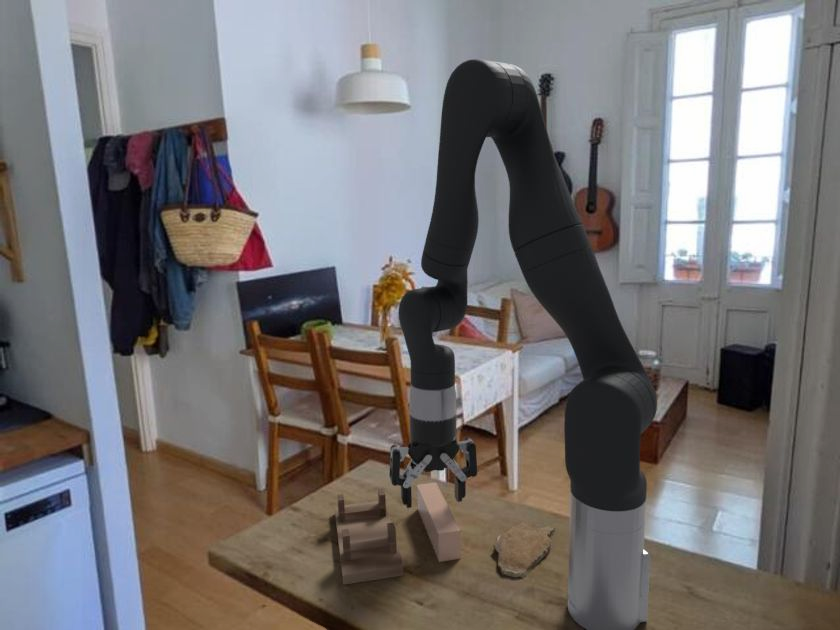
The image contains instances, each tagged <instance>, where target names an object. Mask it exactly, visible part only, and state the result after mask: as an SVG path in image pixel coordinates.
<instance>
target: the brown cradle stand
mask: <svg viewBox="0 0 840 630" xmlns="http://www.w3.org/2000/svg"><path fill="white" fill-rule="evenodd" d="M377 495H378V496H377V499H378V500H372V501H367V502H360V503H351V504H345V497H344V494H343V493H341V494H337V497H336V498H337V505H336V506H335V505H334V517H335V524H336V535H337V542H338V552H339V553H338V554H339V559H340V561H339V562H340V568H341V576H342V577H341V578H342V585H344V586H345V585H350V584H357V583H363V582H369V581H377V580H383V579H389V578H396V577H402V576H405V566H404V563H403V559H402V556H401V555H402V554H401V552H400V548H399V546H398V542H397V531H396V526H395V523H394V522H392V521H391V518H390V515H389V511H388V508H387V502H386V493H385V489H383V488H382V489H377Z"/></svg>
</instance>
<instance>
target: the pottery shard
mask: <svg viewBox="0 0 840 630" xmlns="http://www.w3.org/2000/svg"><path fill="white" fill-rule="evenodd" d="M555 530H556V527H555V526H554V525H553V526H552V525H546V524H538V523H535V522H534V523H533V522H530V521H527V520H520V521H519V523H518V524H515V525H514V526H513V527H510V528H509V529H507V530H506V532H502V533H501V534H500V535H498V536H497V537H496V538H495V540H496V541H495V543H494V544H493V548H494V550H495V552H496V554H497V567H498V568H499V571H500V574H501V575H504V576H507V577H513V578H521V579H524V578H525V577H527V575H528V574H529V573H530V572H531V571H532V570H533V569H534V568H535V566H537V564H538V563H539V562H540V561H541V560H542V559H544V557H546V556H547V555H548V553H549V552H550V550H551V547H552V537H553V536H554V535H555V533H556V531H555Z"/></svg>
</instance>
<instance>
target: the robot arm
mask: <svg viewBox="0 0 840 630" xmlns="http://www.w3.org/2000/svg"><path fill="white" fill-rule="evenodd" d="M441 107H442V108H441V117H440V132H439V144H438V154H437V155H438V156H437V169H436V179H435V180H436V182H435V190H434V191H435V192H434V200H433V207H432V212H431V217H430V222H429V226H428V230H427V234H426V237H425V242H424V246H423V250H422V255H421V260H420V266H421V269H422V271H423V273H424V274H425V275H426V276H428V277H429V278H432V279H434V280H437V282H436V285H435V286H427V287H422V288H420V287H419V288H414V289H410V290H408V291H406V292H405V293H404V295H402V298H401V300H400V301H399V305H398V320H399V325H400V328H401V331H402V334H403V337H404V341H405V344H406V349H407V352H408V356H409V360H410V390H409V399H408V400H409V403H408V410H409V443H408V445H407V446H399V447H398V445H396V444H392V445H391V446H390V453H389V456H390V457H389V474H388V475H389V479H390V482H391V485H392V486H400V497H401V498H400V499H401V501H402V504H403V506H406V508H407V509H410V508H412V507H413V506H412V499H413V498H412V485H413V482H415V480H416V479H418V478H419V476H420V475H421V474H422V473H423V472H425V473H431V472H433V471H440V472H441V471H445V470H446V468H448V469H449V470H450V471H451V472H452V473H453V474H454V475H455V476H454V498H455V500H456V502H457V503H460V502H463V499H465V497H466V491H467V490H466V488H467V487H466V486H467V485H466V482H467V479H468V478H471V477H472V478H474V477H477V475H478V463H477V461H478V460H477V445H476V443H475V442H474V441H473V440H472V438H471V437H470V436H469V437H466V438H464V440H461V441H458V440H457V391H456V360H455V359H456V357H455V352H454V350H453V348H451V347H449V346H447V345H444V344H438V343H435V342H434V338H433V333H438V332H443V331H448V330H452V329H455V328H456V327H458V326H459V325H460V323H462V321H463V320H464V318H465V316H466V313H467V310H468V283H469V282H468V269H469V265H470V261H471V258H472V255H473V251H474V247H475V243H476V240H477V236H478V232H479V208H478V201H477V192H476V185H475V184H476V172H477V171H476V170H477V165H478V160H479V157H480V153H481V150H482V148H483V146H484V143H485V141H486V138H491V139H492V141H493V143H494V145H495V146H496V149H497V150H498V153H499V155H500V158H501V160H502V163H503V165H504V168H505V170H506V174H507V178H508V182H509V183H508V185H509V204H508V235H509V242H510V244H511V247H512V250H513V252H514V256H515V258H516V261H517V264H518V266H519V269H520V271H521V274H522V276H523V278H524V280H525V282H526V284H527V286H528V288H529V290H530V292H531V294H533V296H534V297H535V299H536V300H537V301H538V302H539V304H540V305H541V306H542V307H543V309H544V310H545V311H546V312H547V313H548V314H549V316H551V318H552V319H553V320H554V321H555V322H556V323H557V325H558V326H559V327H560V329H561V330H562V332H563V333H564V334H565V336H566V338H567V340H568V341H569V343H570V345H571V348H572V350H573V353H574V355H575V358H576V360H577V363H578V366H579V369H580V372H581V375H582V379H583V380H581V381H580V382H578V383H577V384H576V385H575V386H574V387H572V389H571V390H570V392H569V394H568V396H567V399H566V403H565V409H564V425H563V427H564V462H565V470H566V472H567V475H568V477H569V480H570V481H569V482H570V487H569V488H570V491H569V492H570V493H569V495H570V496H569V534H568V535H569V536H568V537H569V538H568V541H569V542H568V572H567V573H568V576H567V577H568V580H567V581H568V582H567V610H568V613H569V615H570V617H571V618H572V619H573V620H574V622H576V623H577V624H578V625H579V626H580V627H581V628H583V629H586V630H636V629H637V628H638V626H639V625H640V623H644V622H647V621H648V607H649V606H648V605H649V587H650V585H649V584H650V569H651V568H650V567H651V556H650V554H649V552H648V551H647V550H646V549H645V547H644V546H645V530H646V529H645V527H646V506H647V505H646V504H647V491H648V489H647V487H648V482H647V477H646V475H645V474H644V472H643V471H641V468H640V467H641V466H640V465H641V460H640V459H641V438H642V434H643V433H644V432H645V431H646V430H647V429H648V428H649V426H650V425H651V424H652V423H653V421H654V420H655V417H656V414H657V410H658V397H657V393H656V390H655V388H654V385H653V383H652V380H651V379H650V376H649V375H648V373H647V371H646V369H645V367H644V364H642V362H641V360H640V358H639V357H638V354H637V353H636V350H635V349H634V346H633V345H632V343H631V341H630V339H629V337H628V335H627V333H626V331H625V329H624V327H623V325H622V323H621V320H620V318H619V316H618V313H617V310H616V307H615V305H614V302H613V299H612V297H611V294H610V290H609V287H608V286H607V283H606V281H605V278H604V276H603V274H602V271H601V268H600V266H599V263H598V260H597V258H596V254H595V251H594V248H593V247H592V244H591V241H590V239H589V236H588V234H587V231H586V228H585V226H584V224H583V221H582V219H581V217H580V214H579V212H578V211H577V208H576V207H575V204H574V202H573V199H572V196H571V193H570V191H569V188H568V185H567V183H566V180H565V178H564V175H563V172H562V170H561V168H560V166H559V163H558V161H557V158H556V156H555V152H554V149H553V147H552V144H551V140H550V137H549V133H548V130H547V126H546V123H545V118H544V115H543V112H542V108H541V104H540V101H539V97H538V95H537V91H536V87H535V86H534V84H533V82H532V79H531V78H530V77H529V75H528V74H527V72H525V71H524V70H523V69H522V68H520V67H518V66H517V65H515V64H511V63H506V62H501V61H493V60H487V59H480V58H478V59H477V58H474V59H468V60H465V61H463V62H462V63H460V64H459V65H457V67H456V68H455V69H454V70H452V72H451V74H450V76H449V78H448V80H447V83H446V85H445V91H444V94H443V99H442V106H441ZM460 450H461V452H462V453H463V455H464V456H465V466H464V467H462V468H461V466H460V465H459V464H458V463H457V462H456V460H455V457H456V456H457V454H458V453H459V451H460ZM406 456H409V457H410V461H409V462H408V464H407V466H406V468H405V469H404V471H403V473H402V474H400V472H401V463H402V462H403V461H404V460H405V457H406Z"/></svg>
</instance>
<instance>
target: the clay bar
mask: <svg viewBox="0 0 840 630" xmlns="http://www.w3.org/2000/svg"><path fill="white" fill-rule="evenodd" d="M416 493H417V494H416V496H417V499H416V500H417V511H418V513H420V514H419V515H420V519H421V521H422V523H423V525H425V526H424V528H425V531H426V530H427V531H426V532H427V535H428V539H429V540H431V541H430V543H431V546H432V545H433V546H432V548H433V550H435V551H434V553H435V555H437V556H436V558H437V560H438V562H439V563H442V562H447V561H448V562H449V561H453V560H460V559H462V542H461V541H462V534H461V531H462V530H461V528H460V527H459V524H458V522H457V521H456V519H455V517H454V514H453V513H452V511H451V509H450V507H449V505H448V503H447V501H446V499H445V497H444V495H443V493H442V491H441V490H440V487H439V485H438V483H437V482H430V483H421V484H416Z"/></svg>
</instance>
